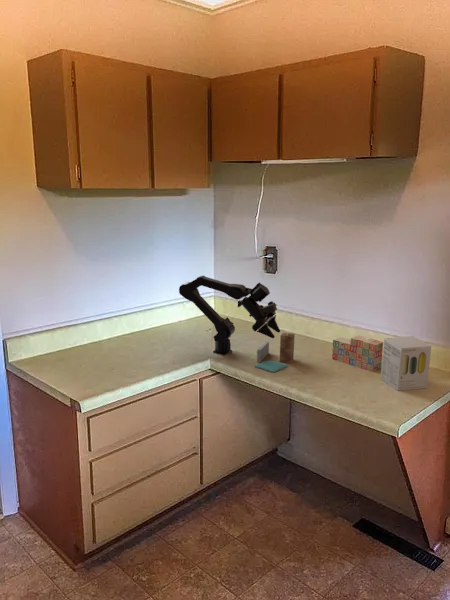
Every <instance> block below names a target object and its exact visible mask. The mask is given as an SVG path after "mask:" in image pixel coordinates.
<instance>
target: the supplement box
mask: <svg viewBox="0 0 450 600" xmlns="http://www.w3.org/2000/svg"><path fill="white" fill-rule="evenodd" d="M431 351H432V345H431V344H428V343H427V342H424V341H423V340H421V339H419V338H417V337H415V336H412V335H411V336H397V337H384V338H383V352H382V361H381V369H380V370H381V371H380V379H381V380H382V381H383V382H385V383H387V384H388V386H391V387H392V388H393V389H394V390H396V391H409V390H410V391H411V390H419V389H427V388H428V382H429V381H428V380H429V371H430V362H431V361H430V360H431V353H432V352H431Z"/></svg>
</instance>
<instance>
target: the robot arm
mask: <svg viewBox="0 0 450 600" xmlns="http://www.w3.org/2000/svg"><path fill="white" fill-rule="evenodd" d="M201 286H202V287H204V288H209V289H211V290H215V291H218V292H221V293H224V294H226V295H227V296H228V297H229V298H231V299H234V300H238V301H237V308H240V307H241V306H242V307H243V308H244V309H245V310H246V311H247V312H248V314H249V315H248V316H249V317H250V318H252V319H253V320H255V321H254V324H252V325H251V328H252V330H253V332H257V333H258V334H261V335H265V337H266V336H267V337H269V338H271V339H274V338H276V336H275V335H274V333H273V331H275V332H276V333H278V334H279V333H280V332H281V329H280V328H279V324H278V323H277V321H276V316H277V313H276V311H277V310H278V308H277V304H276V303H275V302H274V301H273V300H272V301H269V302H268V303H267V305H266V306H264V305H262V304H259V303H261V302H262V301H264V299H266V298H267V297H268V296H269V295H270V294H271V292H270V289H269V288H268V287H267V286H265V285H264V284H262V283H261V282H258V283H256V285H255V286H254V287H253V288H252V287H251V288H250V287H246V286H245V285H244V284H240V283H228V282H225V281H221V280H218V279H214V278H210V277H208V276H205V275H200V276H198V277H196V278H195V279H193V280H192V281H187V282H184V283H182V284H181V285H180V286H179V287H178V293H179V295H180V296H181V297H183V298H185V300H188V301H189V302H192V303H193V305H195V307H196V308H197V309H199V311H201V312H202V314H203V315H204V316H205V317H206V318H207V319H208V320H209V321H210V322H211V323H212V324H213V325H214V326H213V327H214V329H215V331H216V332H217V333H216V334H215V335H214V336H213V339H214V342H215V343H214V346H215V347H214V350H212V352H213V353H216V354H219V355H224V356H225V355H227V354H229V353H232V352H233V350H232V349H231V345H232V344H231V343H232V342H231V339H230V338H231V337H232V335H233V334H234V333H235V331H236V327H235V325H234V322H232V321H231V319H230V318H229V317H225V318H223V317H222V316H221V315H219V313H218V312H217V311H216V310H215V309H214V308H213V307H212V306H211V305H210V304H209V303H208V302H207V301H206V299H204V298H203V297H202V296H201V294H200V291H199V289H198V288H199V287H201ZM258 302H259V303H258ZM272 330H273V331H272Z"/></svg>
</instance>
